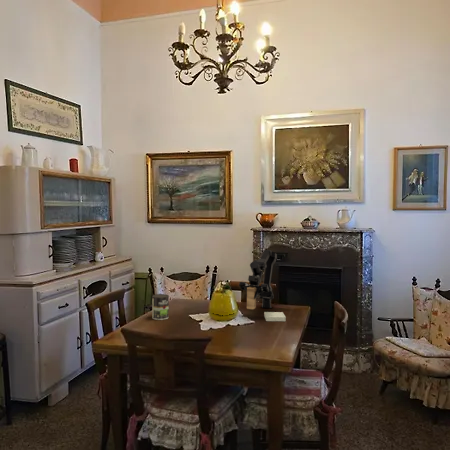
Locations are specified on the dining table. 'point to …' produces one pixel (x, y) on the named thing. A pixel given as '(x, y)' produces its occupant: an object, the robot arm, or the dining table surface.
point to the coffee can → (160, 306)
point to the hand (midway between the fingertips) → (250, 298)
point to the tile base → (274, 316)
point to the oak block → (251, 298)
